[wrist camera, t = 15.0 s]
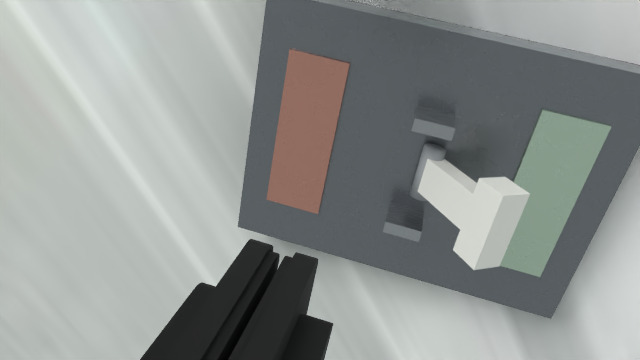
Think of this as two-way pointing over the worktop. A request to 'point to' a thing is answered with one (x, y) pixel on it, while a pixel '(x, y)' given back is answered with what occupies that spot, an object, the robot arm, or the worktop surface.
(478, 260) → the toggle lever
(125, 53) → the worktop surface
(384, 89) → the breaker panel
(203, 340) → the robot arm
